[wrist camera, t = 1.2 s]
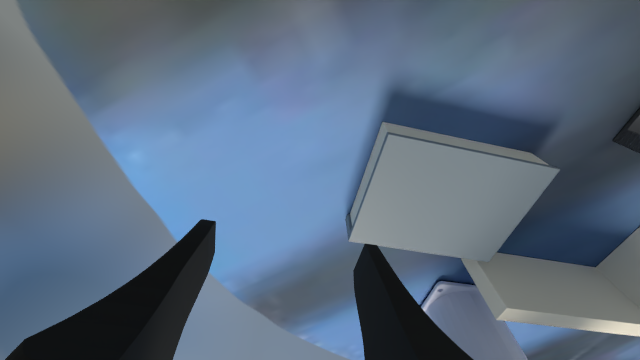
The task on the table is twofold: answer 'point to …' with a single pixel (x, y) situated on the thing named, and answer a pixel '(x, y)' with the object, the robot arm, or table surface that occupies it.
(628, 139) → the bookend
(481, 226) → the book
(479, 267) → the cream corner tray
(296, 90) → the table surface
